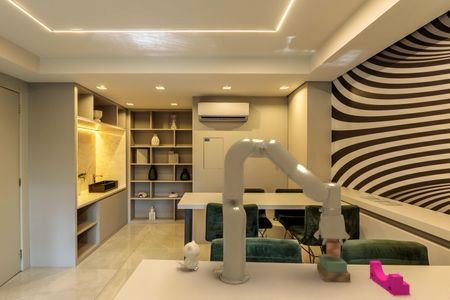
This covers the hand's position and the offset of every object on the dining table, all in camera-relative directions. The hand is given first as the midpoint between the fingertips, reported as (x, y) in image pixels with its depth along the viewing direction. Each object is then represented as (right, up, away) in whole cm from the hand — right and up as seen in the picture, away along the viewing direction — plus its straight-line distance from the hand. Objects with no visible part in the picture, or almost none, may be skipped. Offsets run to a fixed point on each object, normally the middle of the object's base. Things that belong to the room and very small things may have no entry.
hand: (331, 252), depth 120 cm
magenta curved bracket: (+19, -10, -9) cm, 24 cm away
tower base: (0, -10, 0) cm, 10 cm away
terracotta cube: (0, -1, 0) cm, 1 cm away
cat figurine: (-63, -10, +8) cm, 64 cm away
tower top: (0, -6, 0) cm, 6 cm away
